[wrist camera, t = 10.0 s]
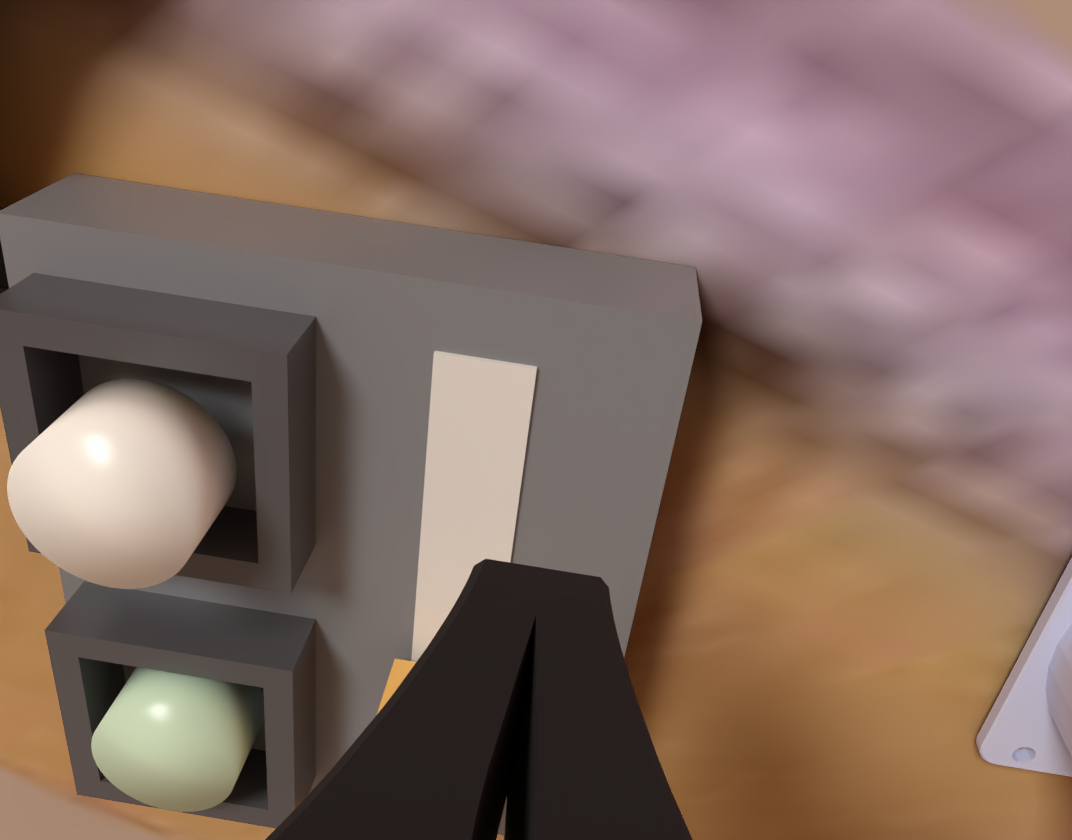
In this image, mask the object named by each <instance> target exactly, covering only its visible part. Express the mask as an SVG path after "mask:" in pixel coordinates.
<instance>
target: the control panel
mask: <svg viewBox="0 0 1072 840" xmlns="http://www.w3.org/2000/svg"><path fill="white" fill-rule="evenodd" d="M0 240H1V246H2V251H3V257H4V262H5V268H6V274H7V279H8V285H9V289H7V290H6V291H4V292H3V293H1V294H0V407H1V412H2V417H3V422H4V428H5V433H6V438H7V443H8V448H9V453H10V458H11V463H12V464H13V462H14V461H15V459H16V458H17V456H18V455H19V454H20V453H21V452H22V451H23V450H24V449H25V448H26V447H27V446H28V445H29V444H30V443H31V442H33V441H34V440H35V439H36V438H37V437H38V436H39V435H40V434H41V433H42V432H43V431H45V430H46V429H47V428H48V427H49V426H50V425H51V424H52V423H53V422H54V421H56V420H57V419H58V418H59V417H60V416H61V415H62V414H63V413H64V412H65V411H66V410H68V409H69V408H70V407H71V406H72V405H73V404H74V403H75V402H76V401H77V400H79V399H80V398H81V397H82V396H83V395H84V394H85V393H86V392H88V391H89V390H91V389H92V388H93V387H95V386H98V385H100V384H102V383H105V382H108V381H111V380H118V379H143V380H149V381H153V382H157V383H160V384H163V385H166V386H169V387H171V388H174V389H176V390H178V391H180V392H182V393H183V394H185V395H187V396H189V397H190V398H192V399H193V400H194V401H196V402H197V403H199V404H200V405H201V406H202V407H203V408H204V409H206V410H207V411H208V412H209V413H210V414H211V415H212V416H213V417H214V419H215V420H216V421H217V422H218V423H219V425H220V426H221V427H222V429H223V430H224V432H225V434H226V435H227V437H228V439H229V441H230V443H231V446H232V448H233V451H234V455H235V459H236V466H237V478H236V483H235V487H234V490H233V492H232V495H231V496H230V498H229V500H228V501H227V503H226V504H225V506H224V507H223V509H222V510H221V512H220V513H219V515H218V516H217V518H216V519H215V521H214V522H213V524H212V525H211V527H210V528H209V530H208V531H207V533H206V534H205V535H204V537H203V538H202V540H201V541H200V543H199V544H198V546H197V547H196V549H195V550H194V552H193V553H192V555H191V556H190V558H189V559H188V561H187V562H186V564H185V565H184V566H183V567H182V569H181V570H180V571H179V572H178V573H177V574H175V575H174V576H173V577H172V578H170V579H168V580H166V581H165V582H162V583H160V584H157V585H155V586H150V587H146V588H139V589H119V588H111V587H106V586H101V585H98V584H94V583H91V582H88V581H86V580H83V579H81V578H78V577H76V576H74V575H72V574H70V573H68V572H66V571H65V570H63V569H62V568H60V567H59V569H60V574H61V580H62V586H63V591H64V597H65V602H66V604H65V606H64V607H63V608H62V609H61V611H60V612H59V613H58V614H57V616H56V617H55V618H54V619H53V621H52V622H51V623H50V624H49V626H48V627H47V628H46V629H45V634H46V639H47V644H48V649H49V654H50V659H51V664H52V669H53V674H54V680H55V685H56V690H57V695H58V700H59V705H60V710H61V715H62V720H63V725H64V730H65V735H66V740H67V745H68V750H69V755H70V760H71V765H72V770H73V775H74V780H75V785H76V790H77V795H83V796H89V797H95V798H101V799H106V800H112V801H118V802H124V803H130V804H136V805H142V806H148V807H153V806H150V805H148V804H145V803H142V802H140V801H138V800H136V799H134V798H132V797H130V796H129V795H127V794H125V793H124V792H122V791H121V790H119V789H118V788H117V787H116V786H114V785H113V784H112V783H111V782H110V781H109V780H108V779H107V778H106V777H105V776H104V775H103V773H102V772H101V771H100V769H99V768H98V766H97V764H96V762H95V760H94V758H93V754H92V749H91V742H92V737H93V734H94V732H95V730H96V729H97V727H98V725H99V724H100V722H101V721H102V719H103V718H104V716H105V715H106V713H107V712H108V710H109V708H110V707H111V705H112V704H113V702H114V701H115V699H116V698H117V696H118V695H119V693H120V691H121V690H122V688H123V687H124V685H125V684H126V682H127V681H128V679H129V678H130V676H131V675H132V673H133V671H134V670H135V668H136V667H140V668H146V669H152V670H158V671H165V672H171V673H177V674H183V675H189V676H195V677H201V678H207V679H213V680H219V681H225V682H231V683H237V684H243V685H249V686H255V687H259V688H260V690H261V692H262V694H263V696H264V716H265V719H264V721H263V724H262V726H261V728H260V730H259V732H258V735H257V737H256V739H255V741H254V743H253V746H252V748H251V750H250V752H249V754H248V757H247V759H246V761H245V763H244V765H243V768H242V770H241V772H240V774H239V776H238V778H237V781H236V783H235V785H234V787H233V789H232V791H231V793H230V795H229V796H228V797H227V798H226V799H225V800H224V801H223V802H221V803H220V804H218V805H216V806H214V807H212V808H209V809H205V810H201V811H194V812H183V813H189V814H195V815H201V816H207V817H213V818H218V819H224V820H230V821H236V822H242V823H248V824H254V825H260V826H266V827H271V828H277V827H278V826H279V825H280V824H281V823H282V822H283V821H284V820H285V819H286V818H287V817H288V816H289V815H290V814H291V813H292V812H293V811H294V810H295V809H296V808H297V806H298V805H299V804H300V803H301V802H302V801H303V800H304V799H305V798H306V797H307V796H308V795H309V794H310V792H311V791H312V790H313V789H314V788H315V787H316V786H317V785H318V784H319V782H320V781H321V780H322V779H323V778H324V777H325V776H326V775H327V774H328V772H329V771H330V770H331V769H332V768H333V767H334V766H335V764H336V763H337V762H338V761H339V760H340V758H341V757H342V756H343V755H344V754H345V752H346V751H347V750H348V749H349V748H350V746H351V745H352V744H353V743H354V742H355V740H356V739H357V738H358V737H359V736H360V734H361V733H362V732H363V731H364V730H365V728H366V727H367V726H368V725H369V724H370V722H371V721H372V720H373V719H374V718H375V716H376V715H377V712H378V709H379V706H380V703H381V700H382V697H383V693H384V690H385V687H386V684H387V681H388V678H389V675H390V672H391V669H392V666H393V662H394V659H401V660H407V661H413V662H417V661H418V659H419V658H420V656H421V655H422V654H423V652H424V651H425V650H426V648H427V647H428V645H429V644H430V642H431V641H432V639H433V638H434V636H435V635H436V633H437V632H438V630H439V628H440V627H441V625H442V624H443V622H444V621H445V619H446V618H447V616H448V614H449V613H450V611H451V609H452V608H453V606H454V604H455V603H456V601H457V599H458V597H459V596H460V594H461V592H462V590H463V588H464V586H465V584H466V582H467V580H468V578H469V576H470V574H471V571H472V569H473V567H474V565H476V564H477V563H479V562H481V561H483V560H484V559H491V560H497V561H503V562H510V563H516V564H522V565H528V566H534V567H541V568H547V569H553V570H559V571H565V572H572V573H578V574H584V575H590V576H597V577H601V578H602V580H603V581H604V582H605V583H606V585H607V586H608V587H609V592H610V600H611V606H612V611H613V617H614V621H615V626H616V630H617V634H618V638H619V642H620V646H621V650H622V653H623V657H625V652H626V648H627V644H628V639H629V635H630V631H631V627H632V622H633V618H634V614H635V609H636V605H637V601H638V596H639V592H640V588H641V584H642V579H643V575H644V571H645V566H646V562H647V558H648V553H649V549H650V545H651V540H652V536H653V532H654V528H655V523H656V519H657V515H658V510H659V506H660V502H661V497H662V493H663V489H664V484H665V480H666V476H667V472H668V467H669V463H670V459H671V454H672V450H673V446H674V441H675V437H676V433H677V428H678V424H679V420H680V416H681V411H682V407H683V403H684V398H685V394H686V390H687V385H688V381H689V377H690V372H691V368H692V364H693V360H694V355H695V351H696V347H697V342H698V338H699V334H700V329H701V325H702V314H701V306H700V299H699V291H698V283H697V276H696V268H695V267H691V266H684V265H677V264H671V263H664V262H658V261H651V260H645V259H638V258H631V257H625V256H618V255H612V254H605V253H598V252H592V251H585V250H579V249H572V248H565V247H559V246H552V245H546V244H539V243H532V242H526V241H519V240H513V239H506V238H499V237H493V236H486V235H480V234H473V233H467V232H460V231H453V230H447V229H440V228H434V227H427V226H420V225H414V224H407V223H401V222H394V221H387V220H381V219H374V218H368V217H361V216H354V215H348V214H341V213H335V212H328V211H321V210H315V209H308V208H302V207H295V206H289V205H282V204H275V203H269V202H262V201H256V200H249V199H242V198H236V197H229V196H223V195H216V194H209V193H203V192H196V191H190V190H183V189H176V188H170V187H163V186H157V185H150V184H144V183H137V182H130V181H124V180H117V179H111V178H104V177H97V176H91V175H84V174H78V173H73V174H71V175H69V176H67V177H65V178H63V179H61V180H59V181H57V182H55V183H53V184H51V185H49V186H47V187H45V188H43V189H41V190H39V191H38V192H36V193H34V194H32V195H30V196H28V197H26V198H24V199H22V200H20V201H18V202H16V203H14V204H12V205H10V206H8V207H6V208H4V209H2V210H0ZM26 538H27V537H26ZM27 543H28V548H29V551H30V552H37V553H41V552H39V551H38V550H37V549H36V548H35V547H34V546H33V544H32V543H31V542H30V541H29V540H28V539H27ZM506 802H507V798H506ZM506 802H505V806H504V810H503V814H502V818H501V822H500V826H499V830H498V834H500V835H505V818H506ZM154 808H157V807H154ZM177 812H178V811H177Z"/></svg>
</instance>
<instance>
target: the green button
mask: <svg viewBox="0 0 1072 840" xmlns="http://www.w3.org/2000/svg"><path fill="white" fill-rule="evenodd" d="M264 719H265V716H264V696H263V694H262V692H261V690H260V688H259V687H255V686H249V685H243V684H237V683H231V682H225V681H219V680H213V679H207V678H201V677H195V676H189V675H183V674H177V673H171V672H165V671H158V670H152V669H146V668H140V667H136V668H135V670H134V671H133V673H132V675H131V676H130V678H129V679H128V681H127V682H126V684H125V685H124V687H123V688H122V690H121V691H120V693H119V695H118V696H117V698H116V699H115V701H114V702H113V704H112V705H111V707H110V708H109V710H108V712H107V713H106V715H105V716H104V718H103V719H102V721H101V722H100V724H99V725H98V727H97V729H96V730H95V732H94V734H93V737H92V742H91V749H92V754H93V758H94V760H95V762H96V764H97V766H98V768H99V769H100V771H101V772H102V773H103V775H104V776H105V777H106V778H107V779H108V780H109V781H110V782H111V783H112V784H113V785H114V786H116V787H117V788H118V789H119V790H121V791H122V792H124V793H125V794H127V795H129V796H130V797H132V798H134V799H136V800H138V801H140V802H142V803H145V804H148V805H150V806H153V807H157V808H160V809H165V810H170V811H178V812H194V811H201V810H205V809H209V808H212V807H214V806H216V805H218V804H220V803H221V802H223V801H224V800H225V799H226V798H227V797H228V796H229V795H230V793H231V791H232V789H233V787H234V785H235V783H236V781H237V778H238V776H239V774H240V772H241V770H242V768H243V765H244V763H245V761H246V759H247V757H248V754H249V752H250V750H251V748H252V746H253V743H254V741H255V739H256V737H257V735H258V732H259V730H260V728H261V726H262V724H263V721H264Z"/></svg>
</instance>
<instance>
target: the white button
mask: <svg viewBox="0 0 1072 840" xmlns="http://www.w3.org/2000/svg"><path fill="white" fill-rule="evenodd" d="M236 478H237V466H236V459H235V455H234V451H233V448H232V446H231V443H230V441H229V439H228V437H227V435H226V434H225V432H224V430H223V429H222V427H221V426H220V425H219V423H218V422H217V421H216V420H215V419H214V417H213V416H212V415H211V414H210V413H209V412H208V411H207V410H206V409H204V408H203V407H202V406H201V405H200V404H199V403H197V402H196V401H194V400H193V399H192V398H190V397H189V396H187V395H185V394H183V393H182V392H180V391H178V390H176V389H174V388H171V387H169V386H166V385H163V384H160V383H157V382H153V381H149V380H143V379H118V380H111V381H108V382H105V383H102V384H100V385H98V386H95V387H93V388H92V389H91V390H89V391H88V392H86V393H85V394H84V395H83V396H82V397H81V398H80V399H79V400H77V401H76V402H75V403H74V404H73V405H72V406H71V407H70V408H69V409H68V410H66V411H65V412H64V413H63V414H62V415H61V416H60V417H59V418H58V419H57V420H56V421H54V422H53V423H52V424H51V425H50V426H49V427H48V428H47V429H46V430H45V431H43V432H42V433H41V434H40V435H39V436H38V437H37V438H36V439H35V440H34V441H33V442H31V443H30V444H29V445H28V446H27V447H26V448H25V449H24V450H23V451H22V452H21V453H20V454H19V455H18V456H17V458H16V459H15V461H14V462H13V464H12V467H11V469H10V471H9V476H8V481H7V493H8V500H9V504H10V508H11V511H12V513H13V516H14V518H15V520H16V522H17V524H18V525H19V527H20V529H21V531H22V532H23V533H24V535H25V536H26V537H27V539H28V540H29V541H30V542H31V543H32V544H33V546H34V547H35V548H36V549H37V550H38V551H39V552H41V553H42V554H43V555H44V556H45V557H46V558H47V559H49V560H50V561H51V562H53V563H54V564H55V565H57V566H58V567H60V568H62V569H63V570H65V571H66V572H68V573H70V574H72V575H74V576H76V577H78V578H81V579H83V580H86V581H88V582H91V583H94V584H98V585H101V586H106V587H111V588H119V589H139V588H146V587H150V586H155V585H157V584H160V583H162V582H165V581H166V580H168V579H170V578H172V577H173V576H174V575H175V574H177V573H178V572H179V571H180V570H181V569H182V567H183V566H184V565H185V564H186V562H187V561H188V559H189V558H190V556H191V555H192V553H193V552H194V550H195V549H196V547H197V546H198V544H199V543H200V541H201V540H202V538H203V537H204V535H205V534H206V533H207V531H208V530H209V528H210V527H211V525H212V524H213V522H214V521H215V519H216V518H217V516H218V515H219V513H220V512H221V510H222V509H223V507H224V506H225V504H226V503H227V501H228V500H229V498H230V496H231V495H232V492H233V490H234V487H235V483H236Z"/></svg>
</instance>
